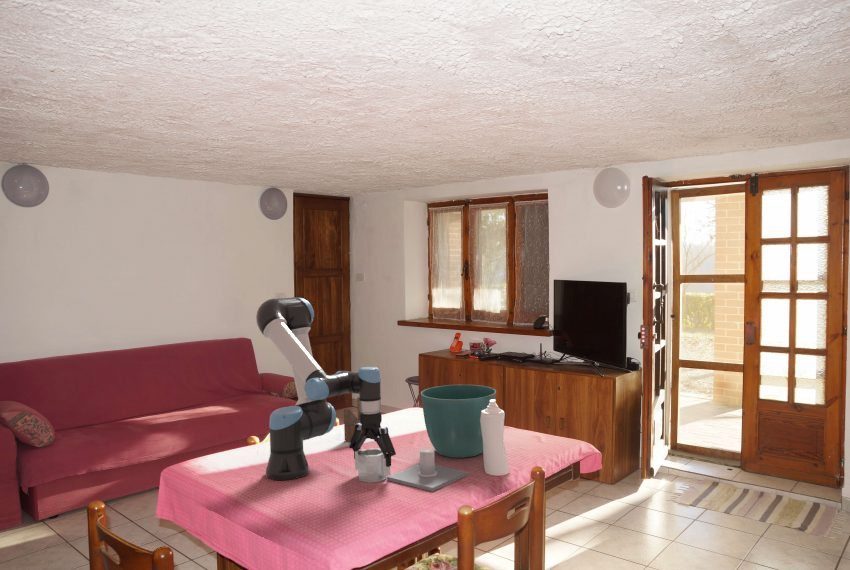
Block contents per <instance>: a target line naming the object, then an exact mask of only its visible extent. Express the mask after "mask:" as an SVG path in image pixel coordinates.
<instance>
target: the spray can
mask: <svg viewBox="0 0 850 570" xmlns="http://www.w3.org/2000/svg"><path fill="white" fill-rule="evenodd" d="M496 401H497V400H495V399H492V400H490V404H489V406H487V408H486V409H485V410H482V411H481V412H482V413H481V417H480V423H481V431H482V438H483V452H482V454H483V455H482V456H483V465H484V466H483V467H484V472H485V474H486V475H487V474H488V475H490V476H496V477H497V476H498V477H499V476H506V475H508V474H509V473H510V469H509V468H510V467H509V462H508V457H507V452H506V446H505V441H504V439H505V438H504V437H505V436H504V434H505V433H504V432H505V431H504V430H505V415H506V414H505V411H504V410H503V409H501V408H500V407H499V405H498V404H497V403H496Z"/></svg>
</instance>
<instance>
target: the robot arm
mask: <svg viewBox="0 0 850 570" xmlns="http://www.w3.org/2000/svg"><path fill="white" fill-rule="evenodd" d="M255 317H256V318H255V320H256V325H257V327H258V329H259V331H260V333H261V334H262V335H263V336H264V338H266V339H270V340H271V342H272V343H273V344H274V345H275V347H276V348H277V349H278V350H279V352H280V353H281V354H282V356H283V357H284V358H285V359H286V361H287V362H288V363H289V364H290V366H291V370H292V375H293V380H294V384H295V385H294V386H295V390H296V393H297V399H298V400H297V401H296V403H295V405H289V406H284V407H280V408H277V409H275V410H274V411H272V412H271V413H270V415H269V424H268V427H269V446H270V448H269V449H270V451H269V452H270V454H269V458H268V462H267V466H266V469H265V477H266V478H268V479H270V480H273V481H287V480H294V479H295V480H296V479H298V478H302V477H305V476H307V474H309V472H310V470H309V468H310V466H309V464H308V460H307V457H306V455H305V452H304V441H306V440H310V439H312V438H313V439H314V438H316V437H321V436H323V435H326V434H328V433H330V432H331V431H332V430H333V429H334V427H335V425H336V422H337V421H336V420H337V413H336V410H335V408H334V406H333V405H332V404H331V403H330V402H327V399H328V398H331V397H337V396H342V395H345V394H357V395H358V394H359V396H358V397H359V400H360V412H361V413H360V423H357V424H355V430H354V433H353V436H352V439H351V442H349V445H348V448H349V449H352V452H353V459H354V465H355V467H354V469H355V471H358V451H361V450H362V446H363V445H364V443H365V442H366V440H367V439H370V440H373V441H374V442H375V443H376V444H377V446H378V447H379V449H381V451H382V453H383V454H384V456H385V457H383V476H384V477H386V478H387V477H388V476H390V475H391V466H392V457H393V456H396V455H397V453H396V449H395V448H394V445H393V442H392V440H391V439H392V438H391V437H390V435H389V427H387V426H385V427H382V426H381V424H382V422H383V421H382V419H383V418H382V412H381V410H382V398H381V397H382V396H381V394H382V393H381V392H382V391H381V372H380V369H379V367H376V366H363V367H360V368H359V369H358V372H357V371H348V370H338V371H336V372H335V373H334V374H327V373H326V372H325V371H324V369H323V368H322V366H320V364H319V363H318V362H317V361H316V359H315V358H314V357H313V352H312V347H311V342H310V338H309V332H310V330H311V329H312V328H311V325H312V323H313V321H314V318H315V311H314V308H313V306H312V304H311V303H310V302H309V301H308V300H306V299H305V298H303V297H295V296H294V297H282V298H270V299H267V300H265V301H264V302H263V303H261V304H260V306H259V307H258V309H257V311H256V316H255ZM361 431H363V432H362V434H361ZM360 434H361V435H360ZM359 437H360V438H359Z"/></svg>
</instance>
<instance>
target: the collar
mask: <svg viewBox="0 0 850 570" xmlns="http://www.w3.org/2000/svg"><path fill="white" fill-rule="evenodd" d="M360 450H361V451H358V470H357V471H358V481H360V482H361V483H367V484H368V483H370V484H371V483H380V482H383V481H385V480H387V476H386V477H384V476H383V457H385V456H384V454H383V453H382V451H381V449H380V448H377V447H375V448H374V447H373V448H365V449H360Z"/></svg>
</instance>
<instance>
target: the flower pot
mask: <svg viewBox="0 0 850 570" xmlns="http://www.w3.org/2000/svg"><path fill="white" fill-rule="evenodd" d="M420 397H421V405H422V412H423V418H424V419H423V420H424V424H425V430H426V432H427V436H428V439H429V441H430V443H431V445H432V447H433V449H434V451H435V452H437V454H439V455H441V456H444V457H447V458H456V459H457V458H458V459H459V458H460V459H461V458H469V457H470V458H472V457H475V456H478V455H481V454H483V438H482V431H481V423H480V417H481V413H482V412H481V411H482V410H485V409H486V408H487V406H489V404H490V400H492V399H495V400H496V398H497V390H496V389H495V388H493V387H489V386H485V385H480V384H479V385H478V384H477V385H476V384H448V385H440V386H434V387H428V388H426V389H424V390H422V391H421V392H420ZM496 401H497V400H496Z"/></svg>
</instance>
